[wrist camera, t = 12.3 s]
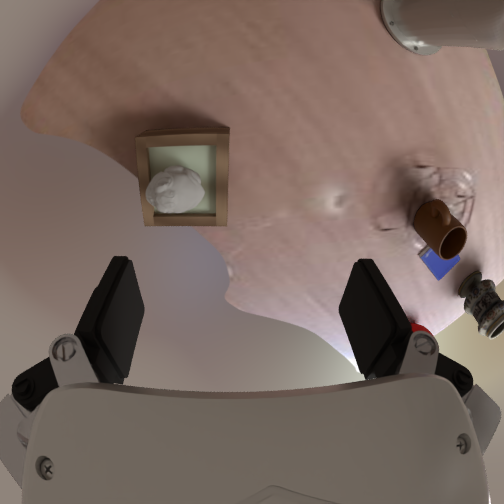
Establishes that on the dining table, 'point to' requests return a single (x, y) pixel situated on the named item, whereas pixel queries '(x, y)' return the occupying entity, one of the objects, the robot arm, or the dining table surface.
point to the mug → (440, 229)
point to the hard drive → (437, 262)
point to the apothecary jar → (483, 304)
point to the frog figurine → (175, 190)
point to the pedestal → (195, 158)
